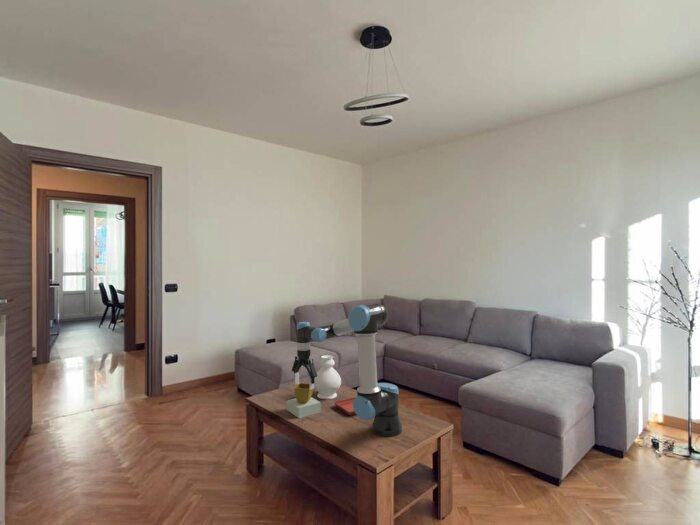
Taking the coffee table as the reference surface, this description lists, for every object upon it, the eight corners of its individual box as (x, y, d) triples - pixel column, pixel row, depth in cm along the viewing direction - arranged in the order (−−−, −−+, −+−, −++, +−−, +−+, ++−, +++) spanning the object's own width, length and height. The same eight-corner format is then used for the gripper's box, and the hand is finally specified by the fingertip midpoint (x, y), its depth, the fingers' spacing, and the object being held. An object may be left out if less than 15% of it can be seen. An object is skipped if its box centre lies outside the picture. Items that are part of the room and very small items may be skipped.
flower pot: (308, 405, 213) (308, 388, 213) (293, 403, 215) (293, 387, 215) (313, 399, 222) (313, 384, 222) (299, 398, 224) (299, 382, 224)
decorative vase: (333, 402, 232) (333, 361, 231) (307, 398, 239) (307, 358, 239) (345, 393, 248) (345, 354, 247) (321, 389, 255) (321, 352, 255)
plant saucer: (358, 401, 235) (358, 396, 235) (376, 411, 219) (376, 405, 219) (333, 407, 225) (333, 401, 225) (349, 418, 210) (349, 412, 210)
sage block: (320, 412, 217) (320, 402, 217) (299, 419, 209) (299, 408, 209) (308, 405, 228) (308, 395, 228) (287, 410, 220) (287, 400, 220)
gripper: (323, 351, 212) (323, 389, 212) (295, 345, 230) (296, 380, 230) (312, 353, 207) (313, 393, 207) (285, 347, 224) (286, 383, 224)
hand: (304, 386), depth 218 cm, fingers open, 13 cm apart
